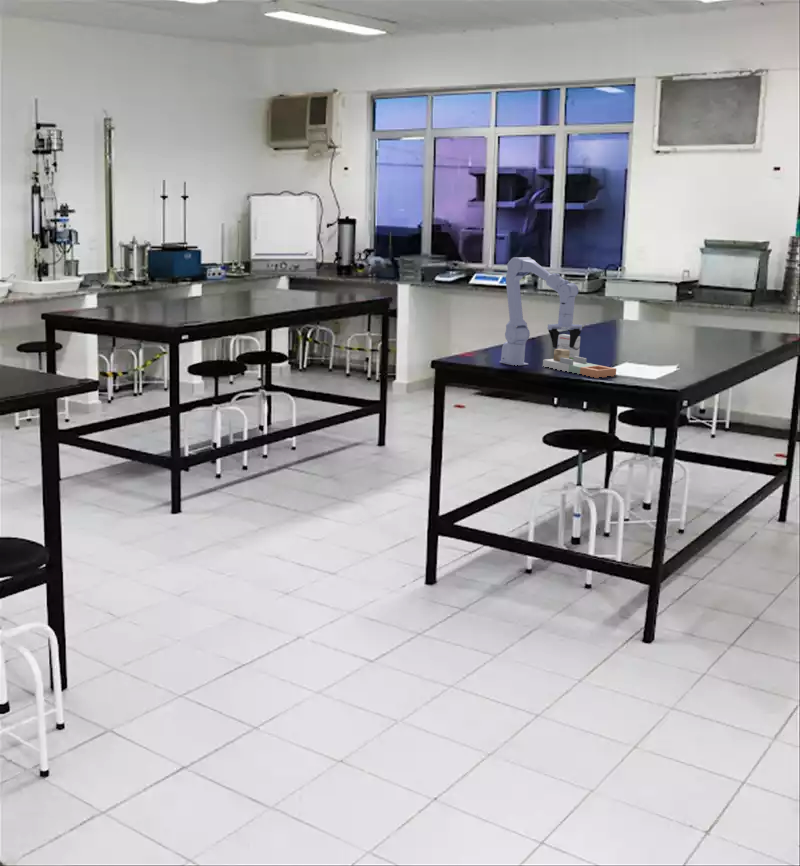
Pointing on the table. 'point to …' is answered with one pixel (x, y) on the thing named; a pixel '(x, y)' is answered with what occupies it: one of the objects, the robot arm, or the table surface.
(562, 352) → the maple block
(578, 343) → the ink box
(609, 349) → the table surface
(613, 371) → the channel deck
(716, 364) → the table surface
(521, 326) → the robot arm
